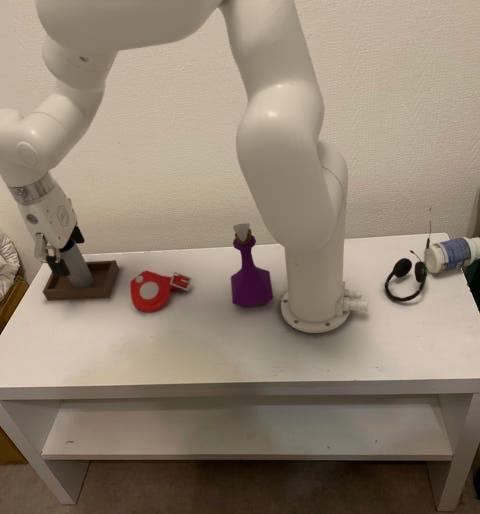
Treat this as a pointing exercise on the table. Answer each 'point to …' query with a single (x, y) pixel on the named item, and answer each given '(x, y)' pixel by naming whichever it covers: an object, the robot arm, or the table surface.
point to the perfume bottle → (249, 273)
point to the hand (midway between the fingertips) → (70, 258)
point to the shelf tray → (100, 287)
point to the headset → (403, 269)
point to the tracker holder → (155, 289)
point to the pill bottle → (452, 254)
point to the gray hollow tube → (76, 265)
